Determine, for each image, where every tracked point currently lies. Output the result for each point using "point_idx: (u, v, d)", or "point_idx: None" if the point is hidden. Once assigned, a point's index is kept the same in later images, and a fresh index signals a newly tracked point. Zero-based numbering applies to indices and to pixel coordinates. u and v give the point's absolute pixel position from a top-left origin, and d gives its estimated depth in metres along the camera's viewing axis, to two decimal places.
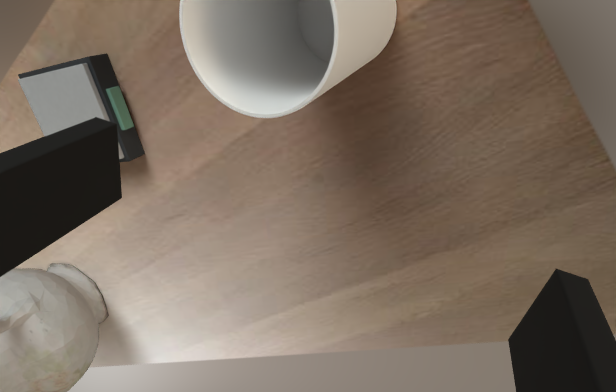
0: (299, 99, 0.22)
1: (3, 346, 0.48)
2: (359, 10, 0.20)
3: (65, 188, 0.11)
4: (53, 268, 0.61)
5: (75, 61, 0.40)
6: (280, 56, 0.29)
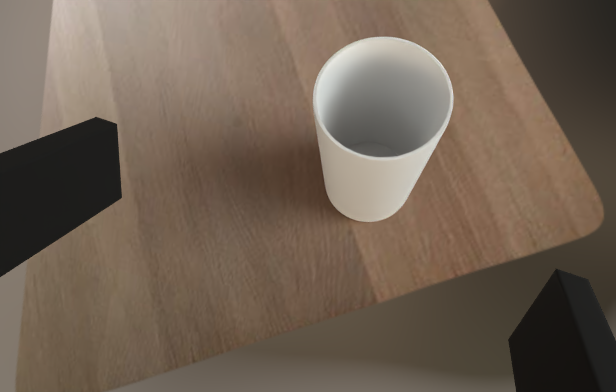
0: None
1: None
2: (371, 182, 0.26)
3: (65, 188, 0.11)
4: None
5: None
6: (353, 117, 0.34)
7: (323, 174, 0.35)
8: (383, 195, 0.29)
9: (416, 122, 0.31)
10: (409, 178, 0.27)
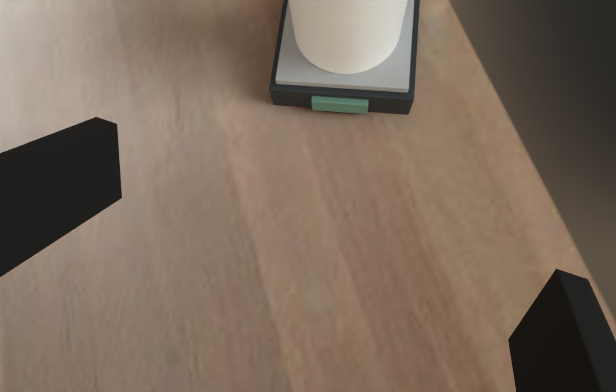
0: None
1: None
2: None
3: (65, 188, 0.11)
4: None
5: (413, 76, 0.30)
6: None
7: None
8: None
9: None
10: None
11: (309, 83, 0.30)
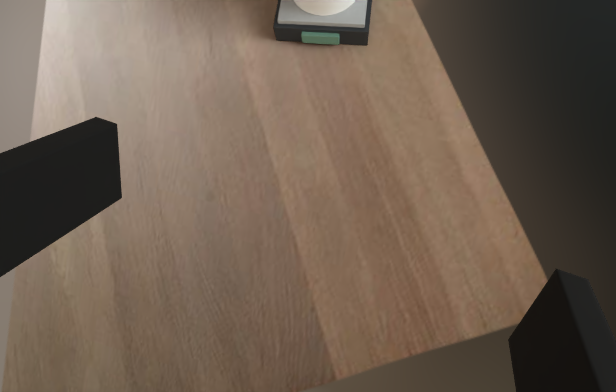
0: None
1: None
2: None
3: (65, 188, 0.11)
4: None
5: (368, 17, 0.46)
6: None
7: None
8: None
9: None
10: None
11: (300, 22, 0.46)
